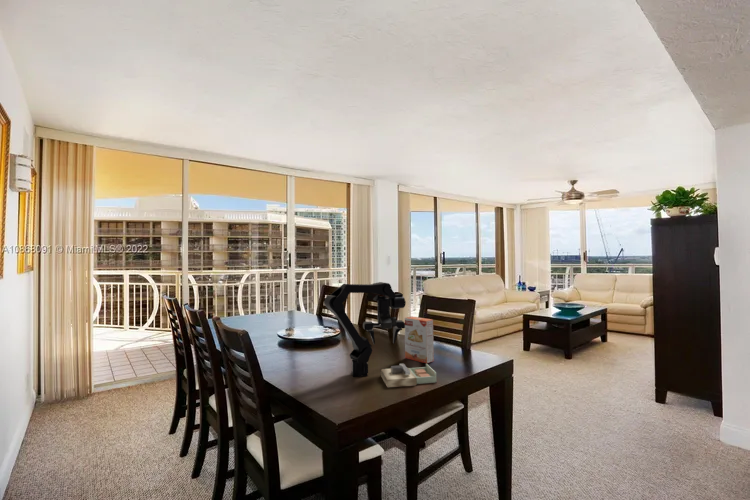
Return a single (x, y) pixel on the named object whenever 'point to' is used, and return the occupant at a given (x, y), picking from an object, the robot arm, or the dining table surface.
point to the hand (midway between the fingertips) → (384, 343)
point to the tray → (430, 379)
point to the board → (397, 378)
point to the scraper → (400, 369)
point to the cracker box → (419, 339)
